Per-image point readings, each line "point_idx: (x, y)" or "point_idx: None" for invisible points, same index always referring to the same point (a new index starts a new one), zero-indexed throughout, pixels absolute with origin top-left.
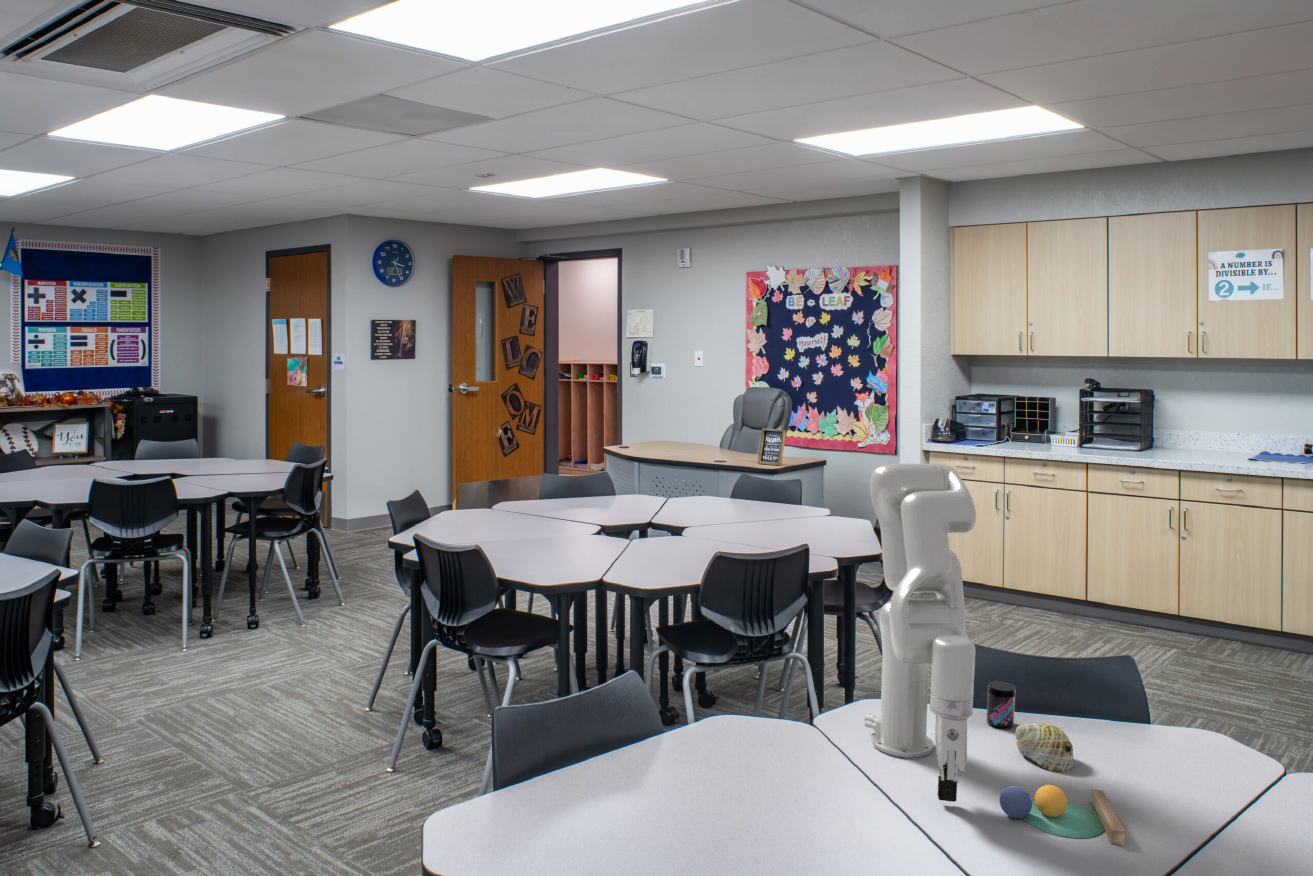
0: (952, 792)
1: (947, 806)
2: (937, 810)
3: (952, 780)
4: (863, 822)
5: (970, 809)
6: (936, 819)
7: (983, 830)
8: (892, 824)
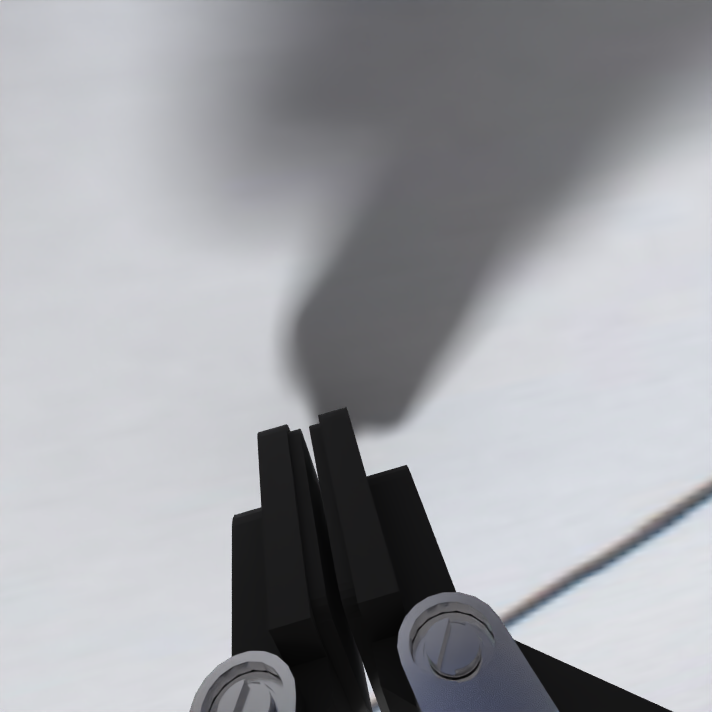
0: (419, 505)
1: None
2: (430, 467)
3: (538, 659)
4: (694, 684)
5: (277, 240)
6: (575, 438)
7: (689, 39)
8: (694, 599)
